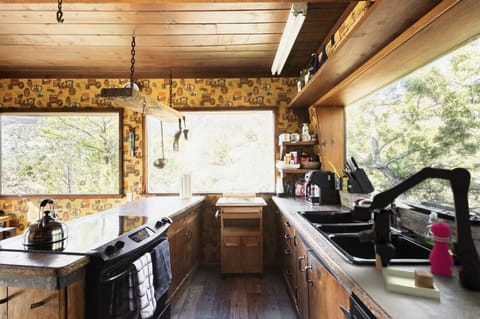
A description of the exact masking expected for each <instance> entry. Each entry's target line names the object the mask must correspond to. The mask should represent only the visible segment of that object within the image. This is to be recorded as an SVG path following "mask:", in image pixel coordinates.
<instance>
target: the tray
mask: <svg viewBox="0 0 480 319" xmlns="http://www.w3.org/2000/svg"><path fill="white" fill-rule="evenodd" d="M381 275H382V278H383V281H384V284H385V287H386V290H387V292H391V293H396V294H401V295H402V294H403V295H407V296H412V295H413V297H419V298H424V299H431V300H437V301H441V291H440V289H439V288H438V287H437V286H436V284H435V283H434V282H433V289H428V288H422V287H416V286H415V270H406V269H400V268H392V267H389V268H385V267H382V270H381Z"/></svg>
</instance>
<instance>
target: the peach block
mask: <svg viewBox="0 0 480 319" xmlns="http://www.w3.org/2000/svg"><path fill="white" fill-rule="evenodd" d="M375 268H376V270H380V271H382V265H381V260H380V256H379V255H378V254H377V253H376V252H375ZM387 268H390V263H389V264H388V266H387Z"/></svg>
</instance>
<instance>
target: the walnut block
mask: <svg viewBox="0 0 480 319" xmlns="http://www.w3.org/2000/svg"><path fill="white" fill-rule="evenodd" d="M414 272H415V286H416V287H422V288H428V289H433V283H434V276H433V274H432V273H431V272H430V271H426V270H417V269H414Z"/></svg>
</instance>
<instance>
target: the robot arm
mask: <svg viewBox="0 0 480 319" xmlns="http://www.w3.org/2000/svg"><path fill="white" fill-rule="evenodd" d="M429 178H431V179H438V180H446V181H447V182H448V186H449V189H450V190H451V193H452V198H453V199H452V200H453V209H454V221H455V231H456V232H455V234H456V235H455V237H454V238H452V237H449V240H450V242H451V247H450V249H451V252H452V255H453V256H455V258H456V259H457V261H458V262H459V263H460V264H462V265H460V266H459V267H460V268H459V270H458V283H459V284H460V285H461V286H463V288H465V290H467V291H474V292H480V256H479V252H478V250H477V246H476V244H475V242H474V239H473V234H472V224H471V223H472V222H471V216H470V215H471V214H470V204H469V197H468V196H469V191H470V186H471V179H472V175H471V172H470V171H469V170H468V169H467V168H464V167H461V166H460V167H459V166H458V167H457V166H456V167H452V168H451V167H450V168H440V167H438V168H437V167H432V166H424V167H422V168H421V169H420V170H418V171H417V172H415V173H414V174H412V175H411V176H408V177H407V178H406V179H404V180H402V181H401V182H399V183H398V184H396V185H395V186H392V187H390V188H387V189H385V190H383V191H379V192H378V193H376V194H375V195H374V196H373V197H372V203H370V204H369V205H368V206H366V205H365V206H364V205H358V204H355V205H354V206H353V212H352V221H353V222H356V223H363V224H369V223H370V222H372V221H373V226H371V229H367V230H363V231H358V232H357V235H358V238H359V241H360V243H362V244H363V243H366V242H369V241H371V242H372V244H373V245H374V252H375V254H376V253H377V254H378V255H379V256H380V260H381V265H382V267H385V268H387V266H388V264H389V265H390V263H391V261H392V260H393V257H395V256H396V248H395V247H394V245H393V244H392V239H391V233H392V229H391V216H395V215H396V214H397V212H396V211H395V210H393V208H392V207H390V208H389V209H387V207H389V206H390V205H391V204H393V202H394V201H395V200H396V199H398V197H399V196H401V195H403V194H404V193H406V192H407V191H410V190H411V189H413V188H414V187H416V186H417V185H420V184H421V183H423V182H424V181H426V180H427V179H429ZM377 209H379V210H377Z"/></svg>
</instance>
